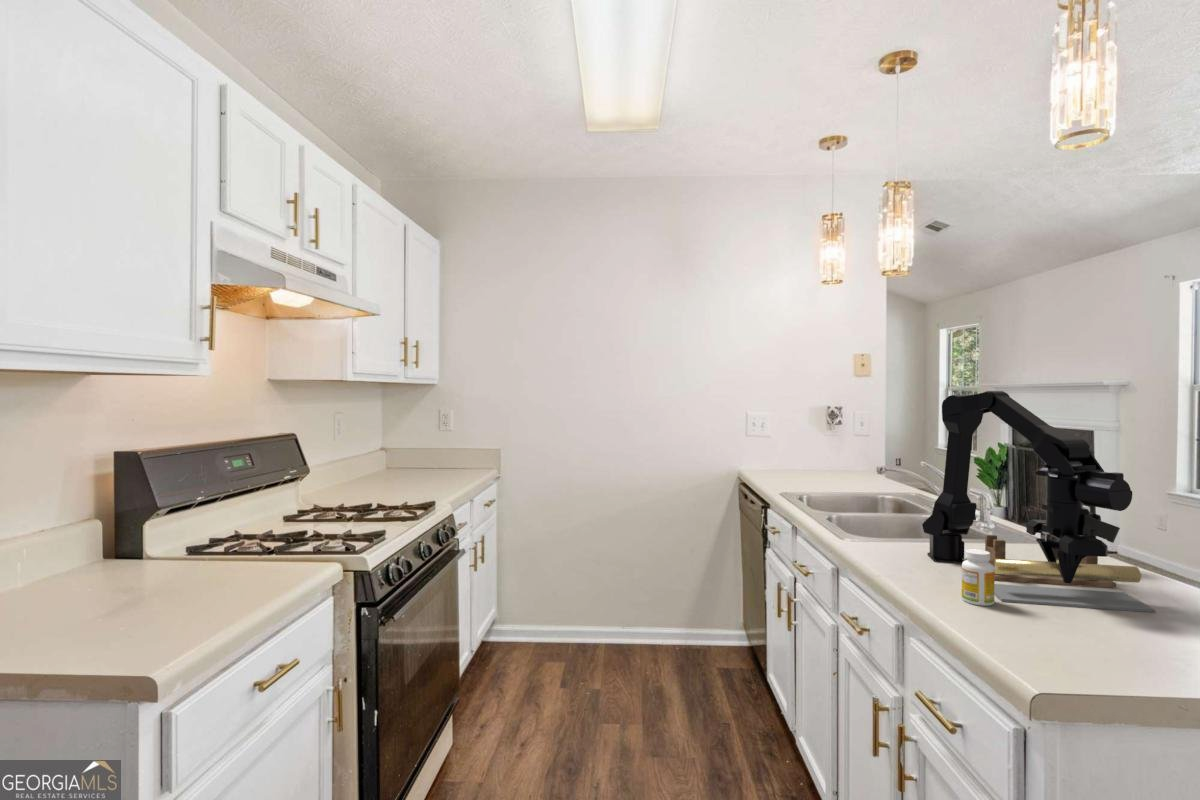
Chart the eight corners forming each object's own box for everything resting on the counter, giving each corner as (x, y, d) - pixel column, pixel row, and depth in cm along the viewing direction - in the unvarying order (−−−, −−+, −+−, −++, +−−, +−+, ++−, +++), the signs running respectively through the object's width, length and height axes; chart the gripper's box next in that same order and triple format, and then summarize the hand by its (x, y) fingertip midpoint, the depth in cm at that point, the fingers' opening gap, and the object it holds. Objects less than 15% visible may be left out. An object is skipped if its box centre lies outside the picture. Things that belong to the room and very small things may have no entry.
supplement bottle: (989, 598, 120) (990, 549, 120) (997, 607, 115) (998, 556, 115) (958, 595, 122) (959, 547, 122) (965, 604, 117) (965, 553, 116)
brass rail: (997, 575, 121) (998, 560, 121) (992, 571, 124) (992, 556, 124) (1140, 584, 116) (1141, 569, 116) (1131, 580, 119) (1131, 564, 119)
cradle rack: (980, 579, 132) (980, 540, 132) (969, 570, 139) (969, 533, 139) (1116, 588, 126) (1116, 547, 126) (1097, 577, 133) (1098, 539, 133)
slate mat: (1001, 601, 118) (1001, 598, 118) (982, 585, 128) (982, 583, 128) (1155, 612, 112) (1155, 609, 112) (1123, 594, 122) (1123, 592, 122)
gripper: (1142, 512, 109) (1141, 599, 109) (1086, 494, 127) (1085, 569, 127) (1070, 509, 111) (1069, 594, 112) (1025, 492, 130) (1024, 566, 130)
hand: (1063, 580), depth 120 cm, fingers closed on brass rail, 3 cm apart
